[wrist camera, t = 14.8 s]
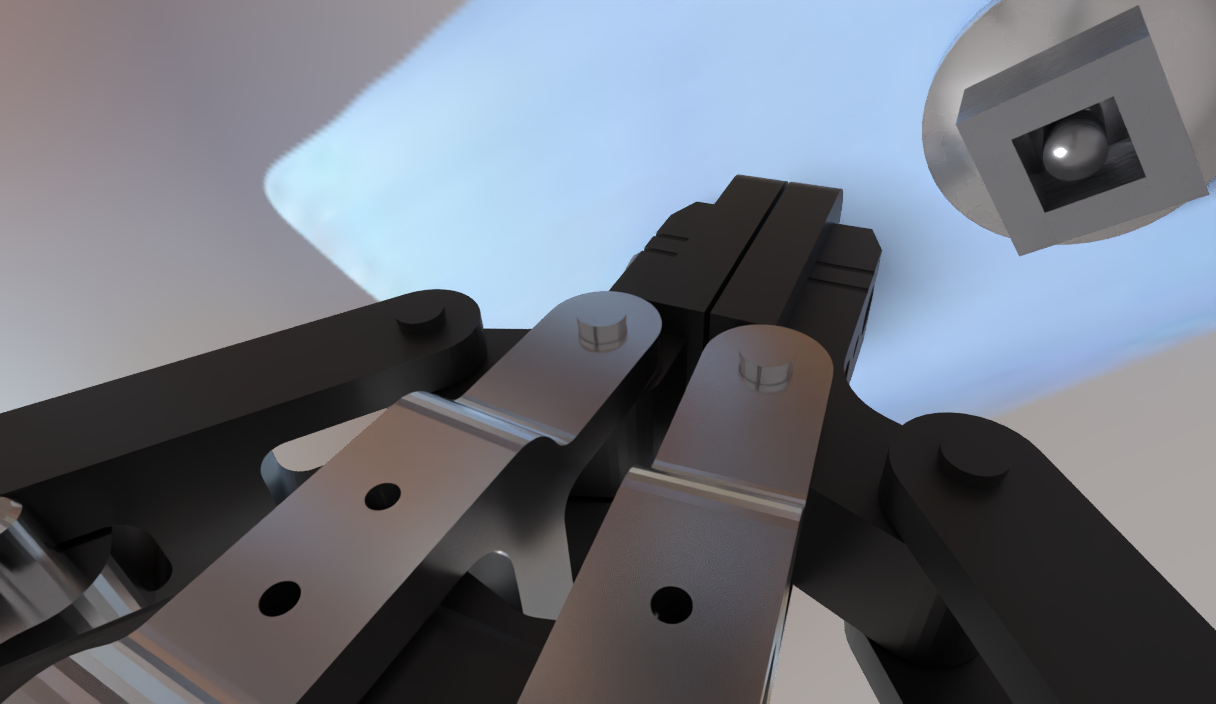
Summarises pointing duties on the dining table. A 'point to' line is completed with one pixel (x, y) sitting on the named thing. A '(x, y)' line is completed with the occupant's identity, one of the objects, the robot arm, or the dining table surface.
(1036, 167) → the square socket block
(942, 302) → the dining table surface
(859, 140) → the dining table surface
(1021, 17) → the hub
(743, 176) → the robot arm
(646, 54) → the dining table surface
